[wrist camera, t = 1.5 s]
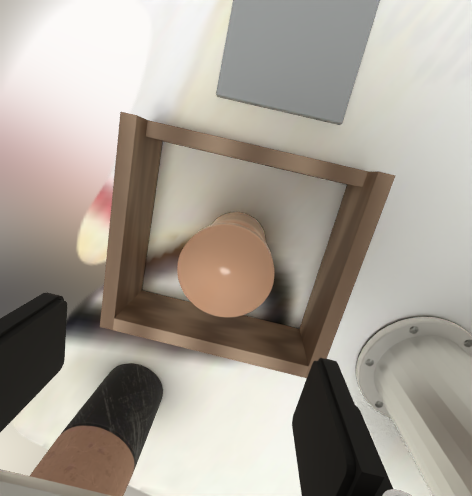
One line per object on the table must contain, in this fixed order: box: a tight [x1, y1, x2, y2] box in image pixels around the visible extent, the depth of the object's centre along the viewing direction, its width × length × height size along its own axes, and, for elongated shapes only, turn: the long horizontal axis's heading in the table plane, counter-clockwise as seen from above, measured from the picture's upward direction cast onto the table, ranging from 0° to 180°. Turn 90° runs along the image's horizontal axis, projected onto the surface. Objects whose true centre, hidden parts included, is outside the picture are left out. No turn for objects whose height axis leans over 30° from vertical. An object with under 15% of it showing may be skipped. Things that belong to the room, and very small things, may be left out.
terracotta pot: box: [177, 212, 274, 317], centre depth 24 cm, size 7×7×9 cm
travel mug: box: [30, 364, 163, 496], centre depth 25 cm, size 8×8×20 cm
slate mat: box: [216, 0, 380, 125], centre depth 23 cm, size 11×11×1 cm
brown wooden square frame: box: [100, 112, 395, 378], centre depth 25 cm, size 20×18×6 cm
